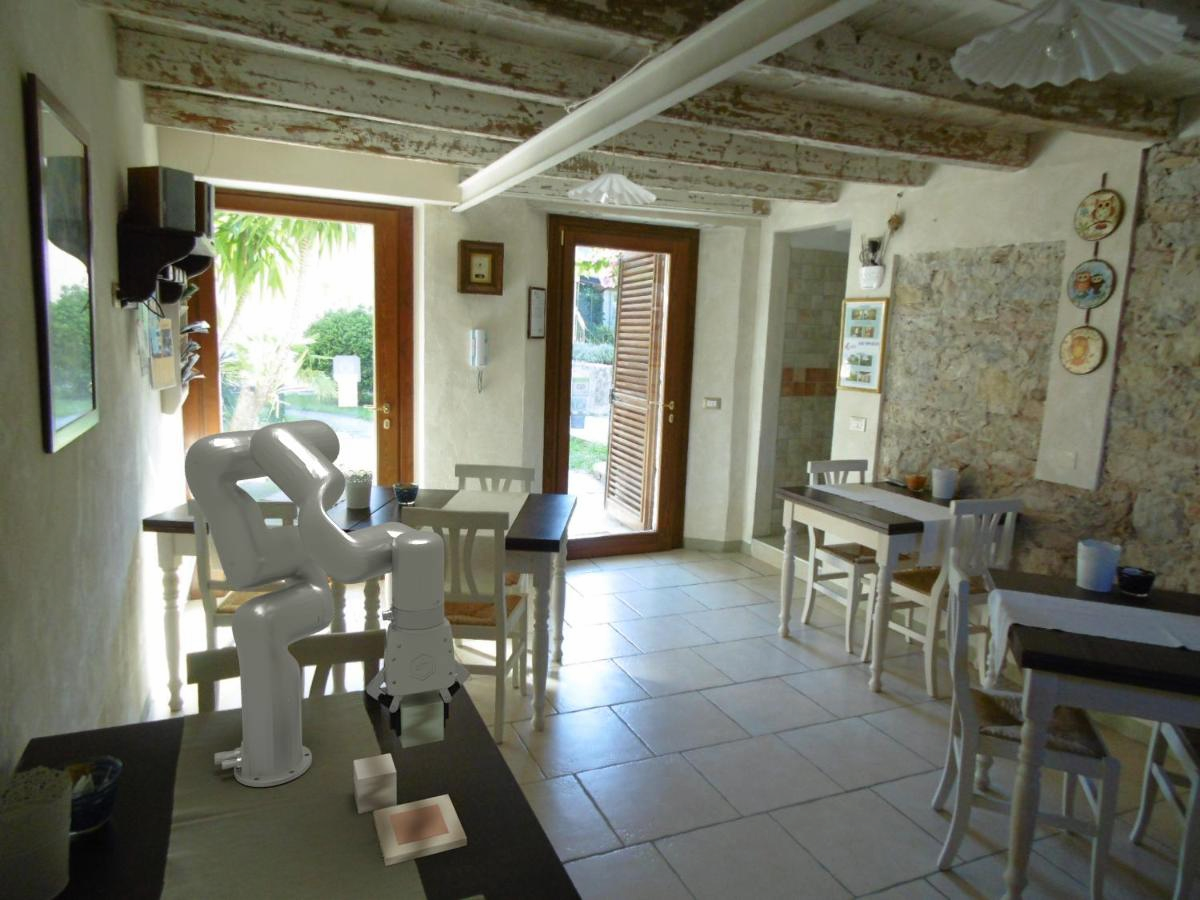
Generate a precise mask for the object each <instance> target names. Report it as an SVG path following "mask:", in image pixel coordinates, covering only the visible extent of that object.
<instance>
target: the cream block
mask: <svg viewBox="0 0 1200 900" xmlns="http://www.w3.org/2000/svg"><path fill="white" fill-rule="evenodd" d="M397 778H398V777H397V769H396V767H395V763H394V760H393V757H392V754H391V753H385V754H380V755H379V754H378V755H373V756H369V757H365V758H359V759H354V760H353V793H354V799H355V805H356V808H357V812H358V815H359V814H363V813H364V812H365V813H369V812H373V810H374V811H375V810H380V809H384V808H389V807H393V806H398V804H397V803H398V798H397V797H398V796H397V795H398V794H397V792H398V791H397ZM368 811H369V812H368Z"/></svg>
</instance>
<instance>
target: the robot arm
mask: <svg viewBox="0 0 1200 900" xmlns="http://www.w3.org/2000/svg"><path fill="white" fill-rule="evenodd" d="M340 449H341V447H340V440H339V438H338V435H337V434H336V432H335V430H334V428H332V427H331V426H330V425H329V424H327V423H326V422H324V421H321V420H317V419H306V420H305V419H304V420H293V421H283V422H281V421H280V422H275V423H274V422H273V423H270V424H268V425H264V426H263V427H261V428H259V429H249V430H236V431H226V432H219V433H215V434H214V433H213V434H210V435H207V436H204V437H200V438H199V439H198V440H195V442H194V443H192V444H191V445H190V447H189V448H188V451H187V452H186V456H185V460H184V476H185V479H186V483H187V487H188V489H189V491H190V493H191V495H192V497H193V499H194V500H195V502H196V504H197V506H198V507H199V508H200V510H201V512H202V514H203V516H204V517H205V520H206V522H207V525H208V528H209V532H210V535H211V538H212V541H213V544H214V547H215V551H216V553H217V554H216V555H217V557H218V559H219V563H220V565H221V568H222V571H223V573H224V575H225V579H226V581H227V582H228V583H229V585H230V586H231V587H232V588H233V589H235V590H238V591H249V590H253V589H259V588H262V587H265V586H268V585H271V584H272V585H273V584H275V583H278V582H279V583H280V582H282V581H284V582H285V586H286V587H282V588H281V589H276V590H273V591H270V592H267V593H263V594H260V595H257V596H255V597H252V598H250V599H249V600H247V601H245V602H244V603H242V604H240V605H239V606H238V608H236V610H235V612H234V614H233V615H232V618H231V632H232V636H233V640H234V644H235V648H236V651H237V652H236V653H237V656H238V657H237V658H238V664H239V665H238V667H239V678H240V679H239V680H240V697H241V699H240V700H241V702H240V703H241V724H242V740H241V741H240V747H235V748H234V750H229V751H225V750H224V751H220V752H215V753H214V766H217V765H221V770H227V769H230V768H234V769H233V773H234V774H233V775H234V778H235V780H236V781H237V782H238V783H240V784H243V785H245V786H248V787H255V788H264V787H267V788H268V787H274V786H278V785H281V784H285V783H287V782H291V781H292V780H294V779H297V778H298V777H300V776H301V775H303V774H304V773H305V772H307V770H308V769H309V768H310V767H311V766H312V762H313V755H312V750H310V748H308V747H307V746H305V745H303V724H302V723H303V719H302V718H303V717H302V684H301V682H302V680H301V669H300V668H301V667H300V665H299V662H298V661H297V659H296V658H295V657H294V656H293V655H292V654H291V653H290V651H289V649H288V647H290V645H291V644H293V643H296V642H298V641H300V640H302V639H303V640H304V639H305V638H307V637H309V636H312V635H314V634H317V633H319V632H322V631H323V630H325V629H326V628H328V627H329V626H330V625H331V623H333V620H334V617H335V611H336V609H335V608H336V607H335V601H334V596H333V593H332V590H331V586H330V584H329V581H328V577H327V575H328V576H330V577H331V579H333V580H335V581H337V582H339V583H342V584H343V585H344V584H345V585H355V584H360V583H363V582H366V581H368V580H370V579H373V578H376V577H380V576H382V575H386V574H390V573H391V592H392V593H391V598H392V599H391V600H392V601H391V602H392V603H391V605H390V606H391V607H390V608H389V609H387V610H385V611H382V615H381V616H382V621H389V623H388V626H387V630H386V636H385V641H384V642H385V643H384V652H383V667H382V668H381V669H380V670H379V671H378V672H377V673H376V675H375V676H374V677H373V678H372V679H371V680H370V682H369V683H368V684H367V685H366V686H365V690H366V691H365V692H367V694H368V695H369V696H370V697H372V698H374V699H375V700H377V701H378V702H379V703H380V704H381V705H382V706H384V707H385V708H386V709H387V710H388V723H389V724H388V725H389V729H390V730H391V731H393V730H394V731H393V732H394V734H395V737H396V738H399V736H400V735H401V711H400V709H399V704H400V701H401V699H402V696H406V695H413V694H419V693H424V692H430V691H436V690H439V695H440V697H441V699H442V701H443V702H444V729H445V728H446V720H449V719H450V714H449V713H450V704H449V703H450V702H452V697H454V695H455V694H456V693H457V692H458V691H459V690H460V688H461V686H462V685H463V684H464V683H465V682H466V681H467V680H468V679H469V678H470V676H471V674H470V671H469V670H468V669H467V668H466V667H465V666H463V665H462V664H461V663H460V662H459V661H457V660H456V657H455V647H454V639H453V637H454V636H453V632H452V631H453V630H452V627H451V626H452V625H451V623H450V620H448V619H447V617H445V543H444V539H443V537H442V536H441V535H440V534H438V533H437V532H434V531H429V530H418V529H415V528H413V527H411V526H409V525H406V524H404V523H401V522H398V521H387V522H383V523H379V524H376V525H371V526H367V527H363V528H360V529H355V530H352V531H349V532H346V531H345V530H344V529H342V528H341V527H340V525H338V524H337V523H336V521H334V520H333V519H332V518H331V517H330V515H329V514H328V511H329V510H330V509H331V508H332V507H334V506H335V505H336V504H337V503H338V501H339V500H340V498H341V497H342V495H343V494H344V491H345V489H346V483H347V480H346V477H345V475H344V473H343V472H342V471H341V470H340V469H339V468H338V467H336V465H335V464H334V463H335V462H336V460H337V459H338V456H339V455H340ZM264 477H265V478H266V477H268V478H269V479H270V481H271V482H273V483H274V484H275V485H276V486H277V488H278V489H279V490H280V491H282V493H283V494H284V495H286V497H287V498H288V499H289V500H290V501H291V502H292V503H293V504H294V505H295V506H296V507H297V509H298V514H297V525H293V524H292V525H289V524H287V525H282V526H280V525H279V526H276V527H273V528H272V527H271V528H269V527H268V526H267V524H266V521H265V519H264V517H263V513H262V510H261V507H260V506H259V504H258V502H257V501H256V500H255V499H254V497H252V496H251V495H250V493H248V492H247V491H246V490H245V489H244V488H242V487H240V486H239V485H238V484H237V482H239V481H245V480H254V479H258V478H264ZM326 574H327V575H326ZM383 684H385V687H386V688H385V689H386V692H385V691H384V690H382V689H380V687H382V685H383ZM387 692H388V693H387Z"/></svg>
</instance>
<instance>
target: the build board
mask: <svg viewBox="0 0 1200 900" xmlns="http://www.w3.org/2000/svg"><path fill="white" fill-rule="evenodd" d="M372 812H373V813H372V815H373V816H372V818H373V822H374V827H375V830H376V834H377V837H378V841H380V842H379V845H380V849H381V850H380V851H381V853H383V854H382V857H384V858H383V861H384V865H385V867H387V866H391V865H394V864H395V865H396V864H401V863H403V862H404V863H405V862H407V861H411V860H414V859H419V858H422V857H427V856H431V855H434V854H438V853H442V852H445V851H450V850H453V849H458V848H462V847H466V846H467V845H468V844H467V843H468V840H467V839H468V837H467V836H466V832H465V830H464V828H463V826H462V824H461V821H460V819H459V817H458V815H457V812H456V809H455V807H454V805H453V803H452V800H451V798H450V796H449V793H447V794H442V795H438V796H435V797H430V798H429V797H428V798H426V799H420V800H416V801H411V802H407V803H402V804H397V805H396V806H392V807H387V808H383V809H378V810H374V811H372Z"/></svg>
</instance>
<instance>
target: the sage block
mask: <svg viewBox="0 0 1200 900" xmlns="http://www.w3.org/2000/svg"><path fill="white" fill-rule="evenodd" d="M439 693H440V692H439ZM439 693H438V691H437V690H436V691H430V692H424V693H419V694H413V695H406V696H402V699H401V701H400V704H399V709H400V711H401V735H400V736H399V737H398V738H399V741H400V744H401V747H402V748H403V749H405V748H410V747H415V746H420V745H425V744H430V743H436V742H439V741H440V742H441V741H444V739H445V738H444V735H445V733H444V729H445V728H444V702H443V701H442V699H441V697H440V695H439Z"/></svg>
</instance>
